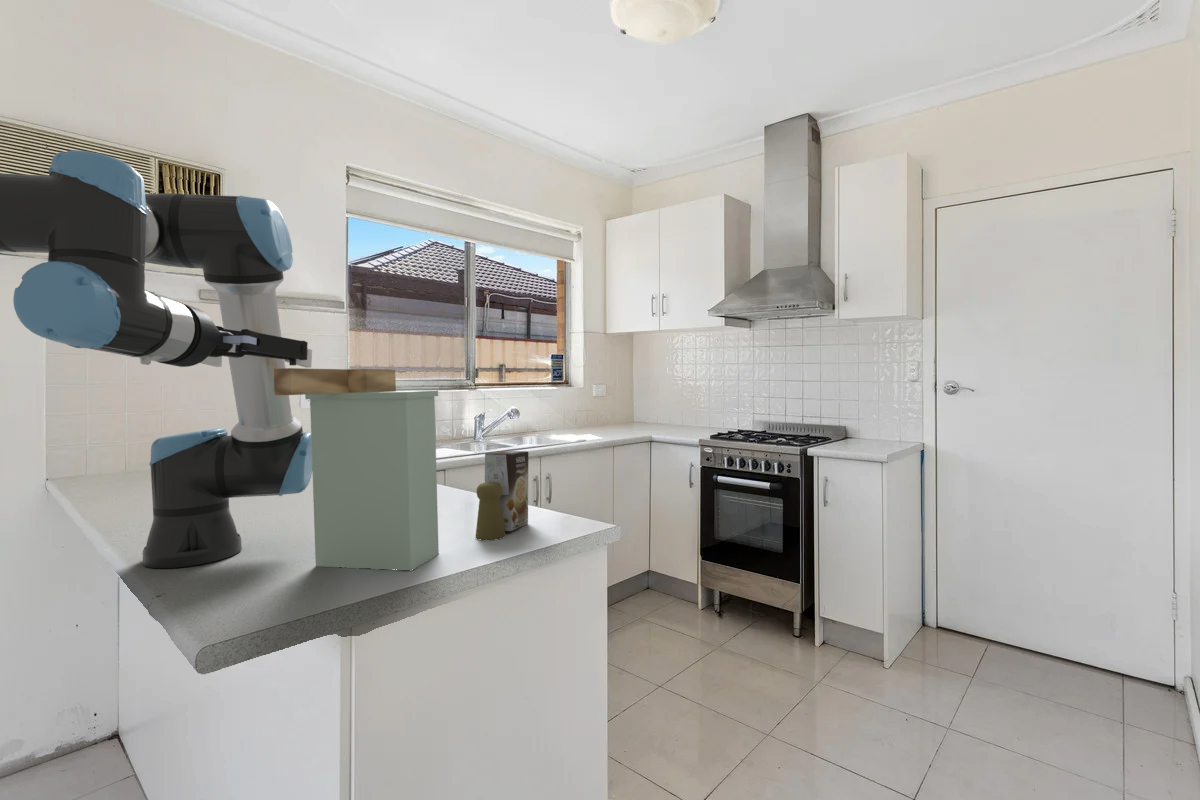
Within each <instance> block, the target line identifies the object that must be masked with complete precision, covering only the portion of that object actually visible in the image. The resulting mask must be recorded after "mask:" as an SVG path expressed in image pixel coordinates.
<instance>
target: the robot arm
mask: <svg viewBox="0 0 1200 800" xmlns="http://www.w3.org/2000/svg"><path fill="white" fill-rule="evenodd" d="M47 171H48V174H49V175H43V174H42V175H41V174H39V175H38V174H22V173H21V174H19V173H0V252H9V253H35V254H36V253H41V254H43V253H44V254H48V257H47V261H46V262H41V263H39V264H37V265H34V266H33V267H30V268H29V269H28V270H26V271H25V273H24V274H22V277H21V279H22V280H21V282H20V284H19V286H18V287H15V288H14V291H13V299H12V300H13V302H12V303H13V309H14V311H15V314H16V316H17V318H18V319H19V320H18V321H20V323H22V325H23V326H24V328H26V329H27V330H29V331H30V332H31V333H33V334H34V335H37V336H39V337H40V338H44V339H47V340H49V341H53V342H55V343H60V344H64V345H66V346H69V347H71V348H76V349H89V350H94V351H99V352H105V353H111V354H117V355H122V356H127V357H130V358H136V359H137V358H138V359H139V360H140V361H139V362H140V364H141V365H145V366H148V365H150V364H151V363H152V362H157V363H161V364H163V365H169V366H174V367H180V368H187V367H192V366H196V365H198V364H203V365H207V366H212V367H216V368H219V367H222V365H223V363H222V362H223V357H228V363H229V364H228V365H229V369H230V376H231V382H232V387H233V393H234V394H233V395H234V401H235V406H236V412H237V418H238V422H237V423H236V424H235V426H233V427H232V428H231V430H230V435H228V434H229V433H228V431H227V430H226V428H224V427H220V428H212V429H206V430H205V429H204V430H198V431H193V432H191V431H190V432H187V433H186V432H185V433H179V434H178V433H177V434H173V435H168V436H163V437H159V438H157V439H155V440H154V441H153V442H152V444H151V446H150V462H149V466H150V477H151V478H150V481H151V496H152V500H151V501H152V522H151V526H150V530H149V533H148V536H147V540H146V543H145V547H143V550H142V565H144V567H148V568H151V569H152V568H153V569H171V568H172V569H173V568H176V569H177V568H184V567H192V566H198V565H203V564H209V563H212V562H217V561H220V560H223V559H228V558H230V557H232V556H234V555H237V554H238V553H240V552H241V551H242V549H243V548H242V547H243V546H242V536H241V535H240V534H239V533H238V531H237V527H236V524H235V521H234V518H233V516H232V514H231V511H230V498H233V499H234V498H252V497H255V498H256V497H269V496H272V497H273V496H278V497H282V496H285V495H294V494H300V493H302V492H305V490H306V489H307V487H308V486H309V484H310V482H311V479H312V476H313V472H312V442H311V432H309V431H305V432H304V429H303V423H302V421H301V420H300V419H298V418H297V417H295V416H294V415H292V408H291V401H290V400H291V399H290V395H275V393H274V369H282V368H286V363H289V366H301V367H304V368H312V356H313V355H312V354H313V350H312V349H310V348H308V343H309V342H308V341H305V340H300V339H299V340H298V339H293V338H287V337H284V336H283V337H282V333H281V332H282V331H281V330H282V329H281V324H280V322H281V321H280V315H279V308H278V300H277V293H276V289H277V288H278V287H279V286H280V285H281V284H282V282H283V281H284V272H286V271H289V270H290V269H291V268H292V267H293V261H294V259H293V258H294V257H293V254H292V253H293V246H292V240H291V235H290V232H289V229H288V226H287V223H286V221H285V218H284V217H283V214H282V213H281V211H280V209H279V208H278V207H277V206H276V204H275V203H274V202H272V201H270V200H268V199H265V198H260V197H251V196H245V195H219V194H218V195H216V194H215V195H214V194H211V195H209V194H188V193H187V194H185V193H175V192H174V193H172V192H170V193H169V192H168V193H167V192H166V193H165V192H164V193H147V194H146V188H145V181H144V180H145V179H144V178H143V176H142V175H141V173H139V172H138V170H136V169H134V167H133V166H131V165H130V164H128V163H126V162H125V161H123V160H120V159H118V158H115V157H113V156H111V155H107V154H106V155H105V154H102V153H98V152H93V151H88V150H77V149H76V150H73V149H71V150H67V151H66V152H64V151H61V152H58V153H55V154H54V155H53V156H52V158H51V163H50V167H49V168H48V170H47ZM146 263H147V264H153V265H160V266H166V267H172V268H174V267H176V268H183V269H184V268H185V269H186V268H187V269H188V268H189V269H202V272H203V278H204V282H205V283H206V284H208V285H209V286H211V288H213V289H215V290H216V292H217V296H218V303H219V308H220V316H221V319H222V326H223V327H222V326H220V325H216V324H215V322H214V321H213V319H212V318H211V317H210V316H209V315H208V313H206V312H204V311H203V310H201V309H200V308H196V307H195V306H191V305H189V304H185V303H183V302H180V301H178V300H175V299H173V298H170V297H167V296H164V295H161V294H158V293H155V292H153V291H149V290H146V289H145V284H146V283H145V282H146V275H145V273H146V272H145V266H146Z"/></svg>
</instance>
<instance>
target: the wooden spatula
mask: <svg viewBox="0 0 1200 800" xmlns="http://www.w3.org/2000/svg"><path fill="white" fill-rule="evenodd" d="M396 381H397V380H396V369H389V368H387V369H386V368H385V369H384V368H355V369H353V368H350V369H348V368H347V369H346V368H344V369H343V368H342V369H341V368H340V369H339V368H295V367H294V368H293V367H289V368H287V367H285V368H282V369H274V393H275V395H289V396H299V395H300V396H301V395H305V394H328V393H361V392H388V391H397V390H396V389H397V388H396V387H397V386H396V385H397V383H396Z"/></svg>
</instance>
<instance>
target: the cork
mask: <svg viewBox="0 0 1200 800" xmlns="http://www.w3.org/2000/svg"><path fill="white" fill-rule="evenodd" d="M475 492H476V496H477V499H479V503H478V510H477V518H476V527H475V539H476V538H477V539H476V540H478V539H481V540H480V541H484V540H490V541H496V540H495V539H498V540H501V539H500V538H502V539H504V538H505V537H506V536H505V535H506V531H505V529H504V522H503V516H502V509H501V503H500V498H501V496H502V493H503V490H502V487H501V485H500V484H499V483H495V482H486V483H485V482H483V483H480V484H478V486H477V487H476V491H475ZM503 537H504V538H503Z"/></svg>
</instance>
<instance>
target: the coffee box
mask: <svg viewBox="0 0 1200 800" xmlns="http://www.w3.org/2000/svg"><path fill="white" fill-rule="evenodd" d="M486 482H495V483H499V484H500V485H501V487H502V490H503V493H502V496H501V498H500V503H501V509H502V516H503V522H504V529H505V532H513V531H515V530H517V529H519V528H522V527H524V526H526V525H528V524H529V451H527V450H526V451H525V450H524V451H523V450H522V451H521V450H511V451H510V450H509V451H507V450H503V451H495V452H494V451H493V452H487V453H486V452H485V453H484V483H486Z"/></svg>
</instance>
